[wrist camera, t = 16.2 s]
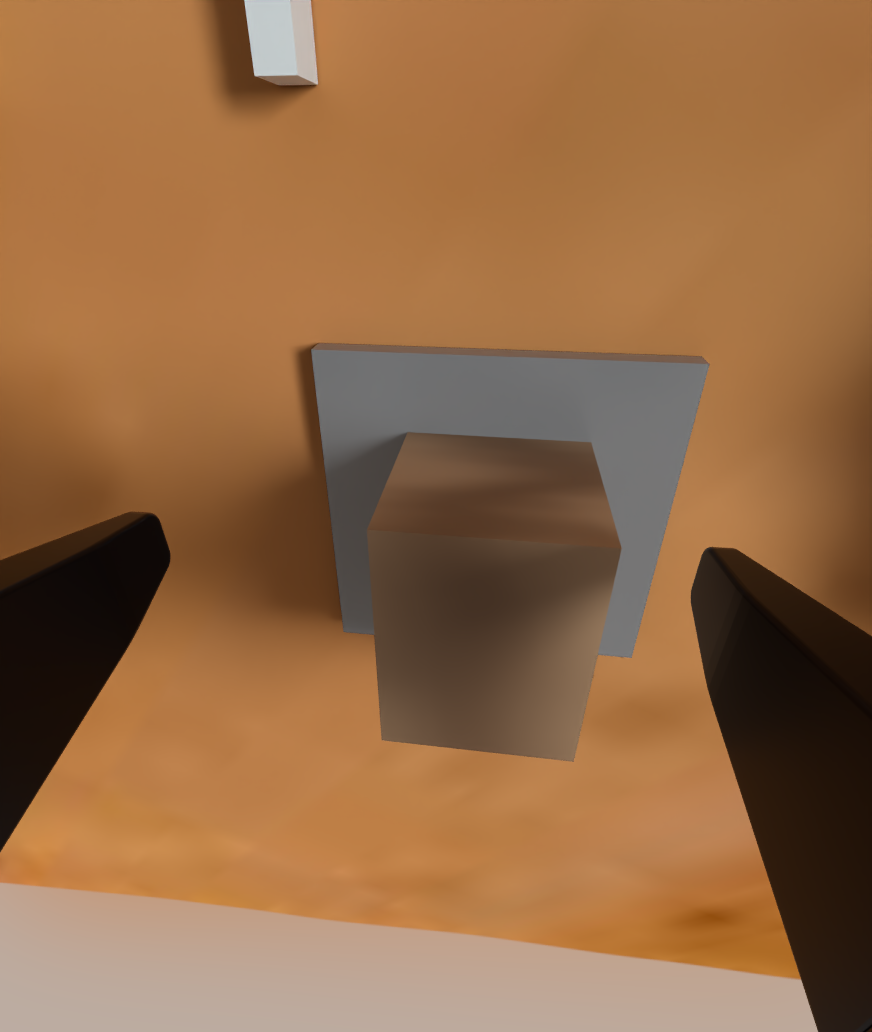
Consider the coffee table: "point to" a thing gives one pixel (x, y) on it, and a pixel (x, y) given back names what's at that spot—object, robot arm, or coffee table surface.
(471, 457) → the walnut block
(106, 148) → the coffee table surface
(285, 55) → the acrylic channel
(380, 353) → the slate coaster
